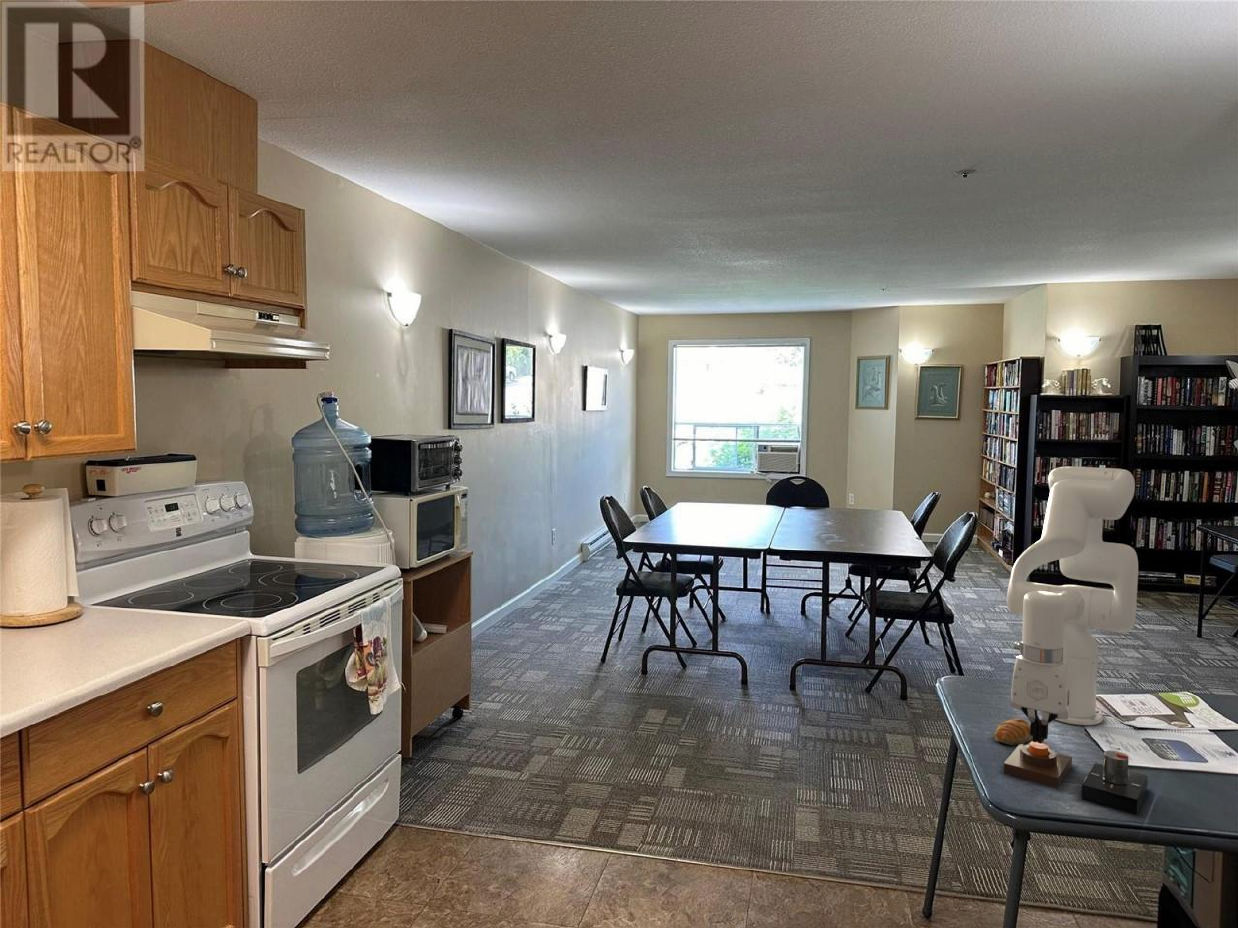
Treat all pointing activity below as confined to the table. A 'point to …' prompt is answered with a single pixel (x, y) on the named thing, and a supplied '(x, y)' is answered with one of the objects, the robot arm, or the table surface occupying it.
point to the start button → (1038, 749)
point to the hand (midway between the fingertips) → (1038, 740)
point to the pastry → (1013, 732)
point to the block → (1038, 766)
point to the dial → (1115, 767)
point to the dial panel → (1114, 790)
